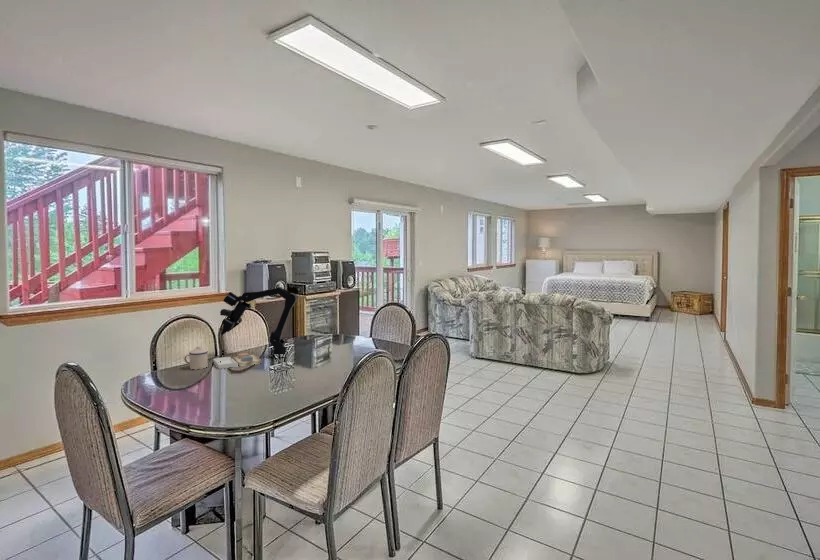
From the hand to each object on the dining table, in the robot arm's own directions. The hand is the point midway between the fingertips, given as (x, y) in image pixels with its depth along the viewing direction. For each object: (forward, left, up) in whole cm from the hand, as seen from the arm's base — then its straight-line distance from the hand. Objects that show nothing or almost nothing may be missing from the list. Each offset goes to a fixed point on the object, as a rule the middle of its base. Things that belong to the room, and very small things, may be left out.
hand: (224, 333), depth 255 cm
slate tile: (-7, +21, -13) cm, 26 cm away
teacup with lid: (+18, +15, -15) cm, 28 cm away
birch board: (-8, +17, -15) cm, 24 cm away
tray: (+3, +17, -15) cm, 23 cm away
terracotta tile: (-7, +13, -13) cm, 20 cm away
